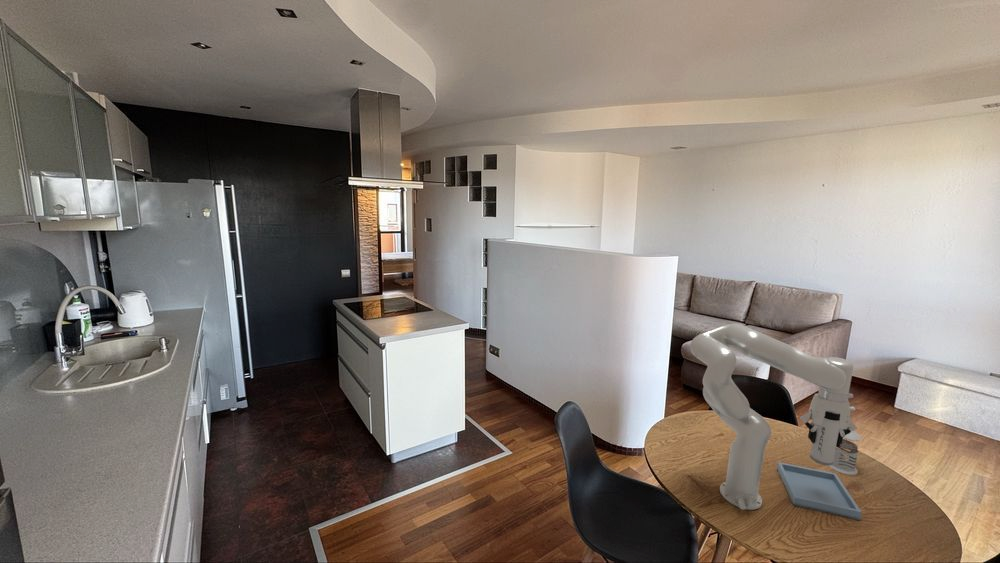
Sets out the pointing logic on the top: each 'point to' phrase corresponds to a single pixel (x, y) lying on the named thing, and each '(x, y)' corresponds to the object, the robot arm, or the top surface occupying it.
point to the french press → (847, 453)
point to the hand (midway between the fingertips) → (824, 442)
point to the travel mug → (826, 439)
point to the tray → (818, 490)
